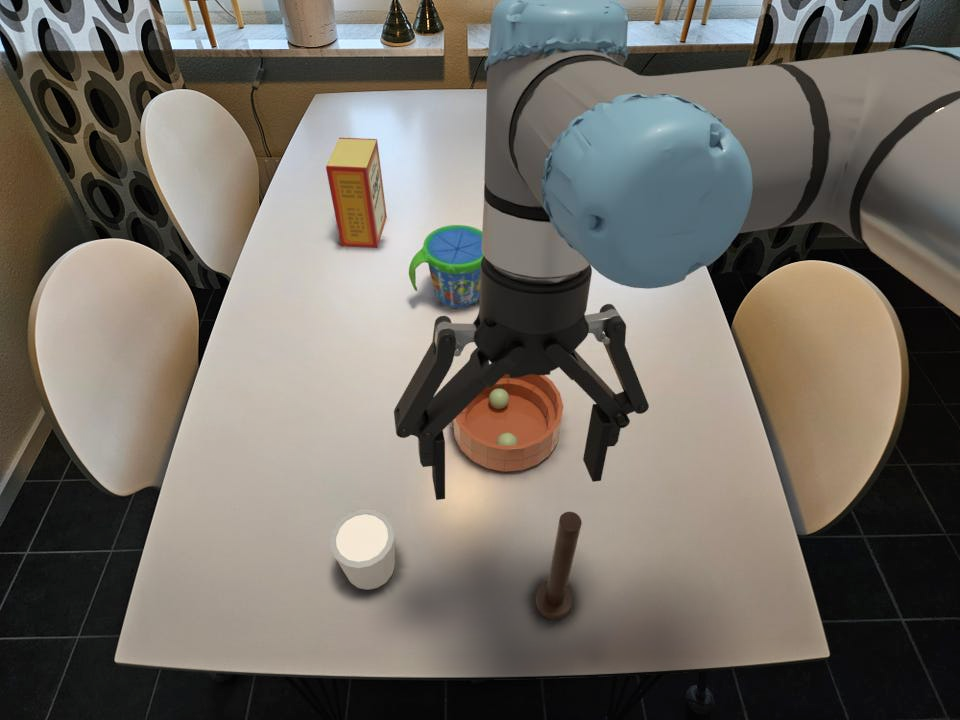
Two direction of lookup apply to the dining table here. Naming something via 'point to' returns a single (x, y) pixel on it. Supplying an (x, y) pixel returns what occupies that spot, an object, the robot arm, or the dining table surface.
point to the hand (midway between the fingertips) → (516, 479)
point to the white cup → (364, 548)
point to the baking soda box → (357, 191)
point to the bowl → (512, 424)
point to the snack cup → (452, 264)
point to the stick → (560, 570)
